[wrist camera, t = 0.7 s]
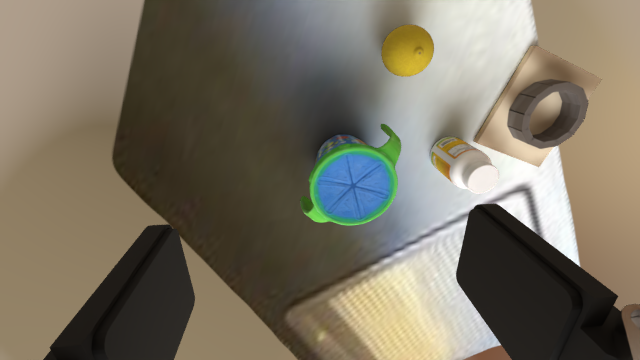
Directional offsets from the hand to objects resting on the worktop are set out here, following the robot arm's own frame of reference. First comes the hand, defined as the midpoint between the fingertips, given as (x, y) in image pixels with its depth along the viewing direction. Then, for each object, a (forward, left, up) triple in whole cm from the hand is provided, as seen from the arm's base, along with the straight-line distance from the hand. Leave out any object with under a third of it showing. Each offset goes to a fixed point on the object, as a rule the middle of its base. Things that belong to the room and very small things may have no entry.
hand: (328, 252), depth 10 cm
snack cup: (+7, +9, -33) cm, 35 cm away
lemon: (-9, +10, -33) cm, 36 cm away
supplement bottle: (+1, +24, -33) cm, 41 cm away
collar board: (-9, +33, -33) cm, 47 cm away
